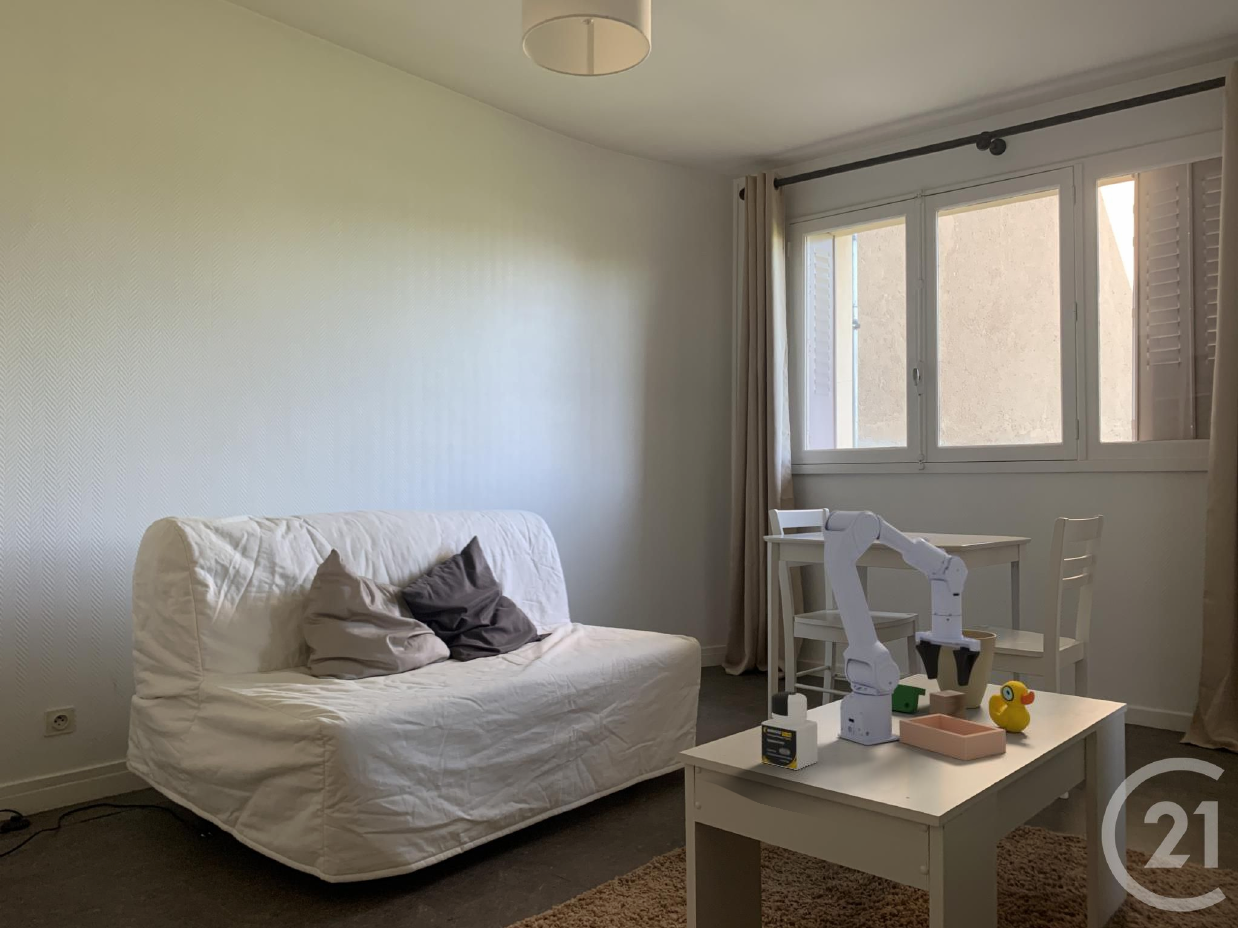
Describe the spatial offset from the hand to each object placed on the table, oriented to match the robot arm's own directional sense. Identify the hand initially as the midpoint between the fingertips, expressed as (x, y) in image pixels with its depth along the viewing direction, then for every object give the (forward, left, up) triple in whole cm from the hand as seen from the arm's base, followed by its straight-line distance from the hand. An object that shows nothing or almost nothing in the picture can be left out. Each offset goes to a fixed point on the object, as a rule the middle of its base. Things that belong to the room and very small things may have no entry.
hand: (947, 682), depth 185 cm
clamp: (+5, +18, -10) cm, 21 cm away
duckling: (+9, -8, -9) cm, 15 cm away
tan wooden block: (0, 0, -9) cm, 9 cm away
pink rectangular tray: (-11, -10, -9) cm, 17 cm away
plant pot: (+20, +13, -9) cm, 26 cm away
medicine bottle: (-44, -3, -9) cm, 45 cm away
